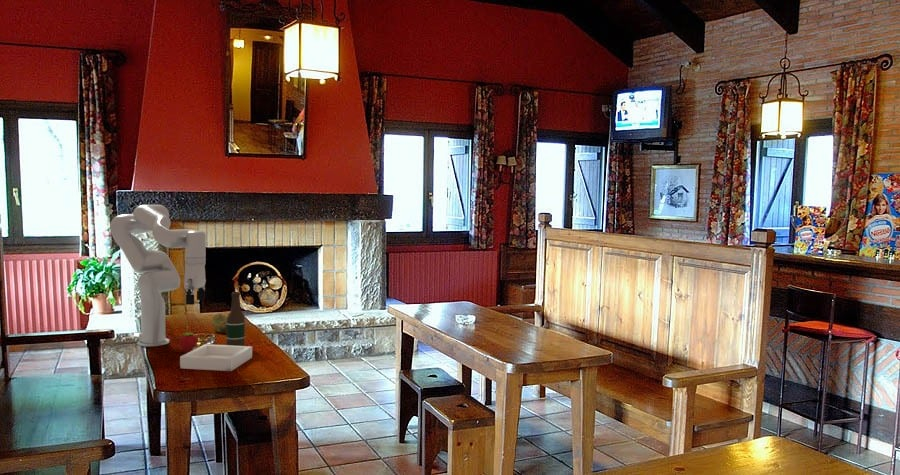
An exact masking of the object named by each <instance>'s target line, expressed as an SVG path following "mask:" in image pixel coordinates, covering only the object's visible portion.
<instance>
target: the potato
mask: <svg viewBox="0 0 900 475" xmlns="http://www.w3.org/2000/svg"><path fill="white" fill-rule="evenodd" d="M227 317H228V316H226V315H225V314H223V313H216V314H215V315H213V316H212V320H211V325H212V327H213V328H214V330H215V331H216V332H217V333H220V334H226V323H227Z"/></svg>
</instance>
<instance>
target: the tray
mask: <svg viewBox="0 0 900 475" xmlns="http://www.w3.org/2000/svg"><path fill="white" fill-rule="evenodd" d="M252 358H253V346H249V345H248V346H246V345H245V346H231V345H226V344H208V343H207V344H206V343H205V344H202V345H201V346H199V347H196V348H195V349H194V348H193V349H192V350H191V351H190V352H188V353H187V352H186V353H185V354H182V355H180V357H179V366H180V369H187V370H205V371H221V372H222V371H223V372H224V371H225V372H232V371H234V370H235V369H237V368H238V367H240V366H241V365H243V364H245V363H246V362H248V361H249V360H250V359H252Z"/></svg>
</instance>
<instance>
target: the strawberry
mask: <svg viewBox="0 0 900 475" xmlns="http://www.w3.org/2000/svg"><path fill="white" fill-rule="evenodd" d="M188 331H189V329H187V331H186V332H185V333H180V335H181V336H179V338H178V343H179V346H180V347H181V349H183V351H185V352H186V354H187V353H188V352H190V351H192V350H194V348H195V347H196V345H197V344H198V341H199V338H198V336H197V335H196V333H195V332H188Z"/></svg>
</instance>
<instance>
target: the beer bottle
mask: <svg viewBox="0 0 900 475" xmlns="http://www.w3.org/2000/svg"><path fill="white" fill-rule="evenodd" d="M230 296H231V303H230V304H231V305H230V306H231V308H230V312H229V313H228V314H227V316H226V317H227V323H226V333H225V334H226V335H225V336H226V337H225V338H226V339H225V340H226V341H225V342H226V344H225V345H231V346H246V345H245V344H246V319H245V318H246V317H245V315H244V313H243V311H242V308H241V300H240V298H241V297H240V296H241V292H240V291H233V292H232V293H231V295H230Z"/></svg>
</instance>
